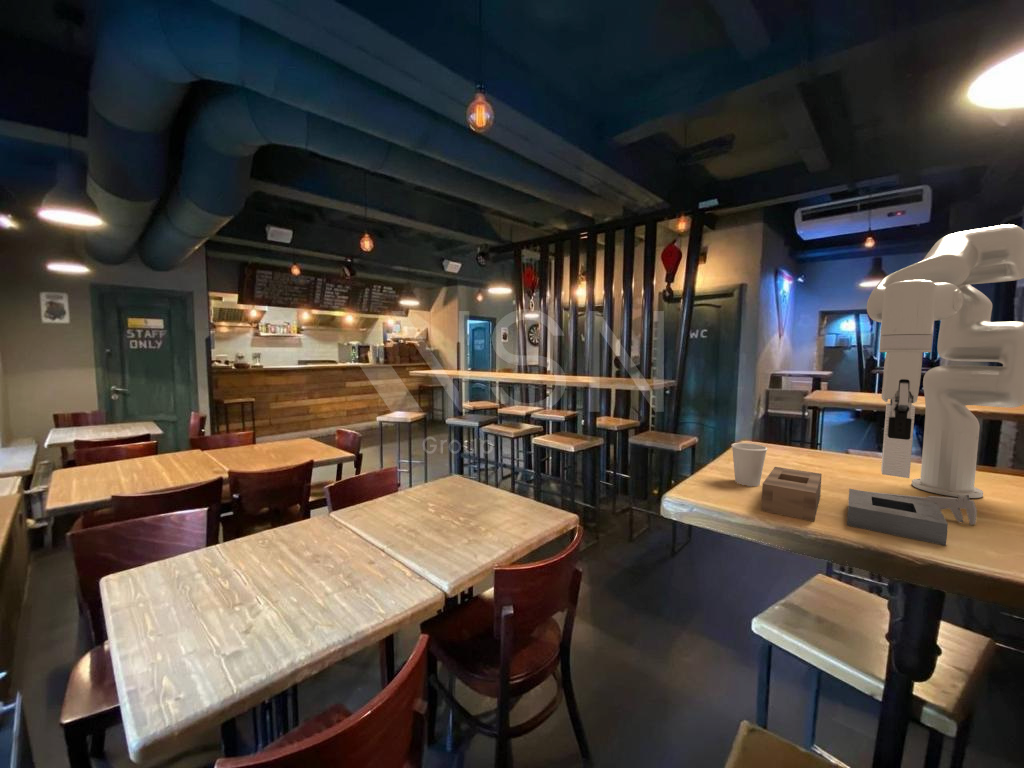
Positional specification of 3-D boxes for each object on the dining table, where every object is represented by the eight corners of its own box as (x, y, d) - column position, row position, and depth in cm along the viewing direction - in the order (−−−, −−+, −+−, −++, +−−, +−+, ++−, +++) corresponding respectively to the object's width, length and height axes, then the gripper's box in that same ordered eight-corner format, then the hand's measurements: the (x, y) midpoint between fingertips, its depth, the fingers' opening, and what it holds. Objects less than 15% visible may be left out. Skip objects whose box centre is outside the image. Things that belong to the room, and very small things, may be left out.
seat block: (848, 505, 96) (849, 488, 95) (934, 521, 87) (936, 502, 86) (846, 525, 85) (848, 505, 84) (946, 545, 76) (947, 524, 76)
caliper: (975, 526, 85) (978, 496, 85) (973, 527, 85) (976, 496, 84) (858, 495, 104) (860, 470, 103) (855, 495, 103) (857, 470, 103)
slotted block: (773, 489, 106) (774, 466, 106) (820, 498, 100) (821, 473, 100) (761, 510, 92) (762, 483, 92) (814, 521, 86) (815, 493, 86)
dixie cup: (736, 487, 108) (738, 448, 108) (725, 477, 117) (726, 442, 116) (771, 489, 107) (773, 450, 106) (757, 479, 115) (759, 443, 115)
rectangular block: (881, 470, 88) (886, 403, 87) (907, 473, 85) (913, 405, 84) (882, 474, 85) (887, 405, 84) (909, 478, 82) (915, 406, 81)
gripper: (878, 345, 92) (871, 429, 93) (881, 344, 79) (874, 440, 80) (926, 345, 87) (918, 433, 88) (938, 343, 74) (929, 446, 75)
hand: (897, 435), depth 84 cm, fingers closed on rectangular block, 4 cm apart
